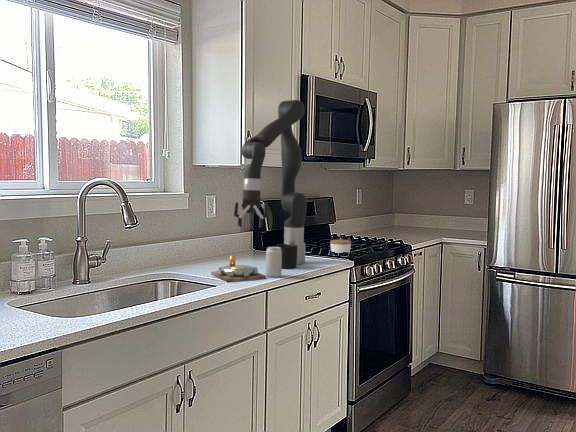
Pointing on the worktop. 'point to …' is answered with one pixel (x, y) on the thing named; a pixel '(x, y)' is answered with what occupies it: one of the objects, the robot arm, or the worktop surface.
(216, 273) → the board
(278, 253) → the beverage can
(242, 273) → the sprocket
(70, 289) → the worktop surface
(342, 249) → the lidded jar
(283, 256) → the pen holder
